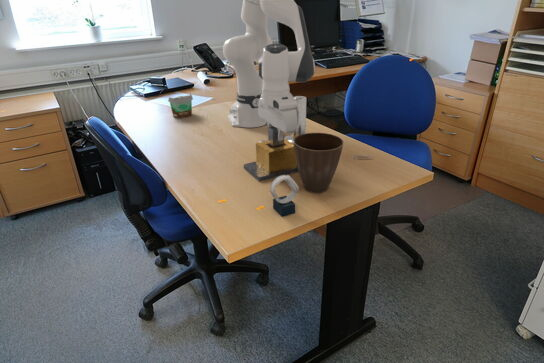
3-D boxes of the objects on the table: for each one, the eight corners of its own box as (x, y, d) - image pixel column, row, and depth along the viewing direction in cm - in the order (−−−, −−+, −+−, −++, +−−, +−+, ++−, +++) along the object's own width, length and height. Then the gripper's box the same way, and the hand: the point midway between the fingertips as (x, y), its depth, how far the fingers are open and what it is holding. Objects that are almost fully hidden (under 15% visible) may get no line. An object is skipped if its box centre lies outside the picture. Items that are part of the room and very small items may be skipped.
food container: (175, 120, 188) (172, 100, 183) (170, 117, 192) (167, 97, 188) (198, 115, 194) (196, 95, 190) (193, 112, 199) (191, 93, 194)
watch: (301, 211, 113) (301, 177, 108) (276, 218, 109) (275, 183, 104) (291, 202, 117) (292, 169, 112) (267, 209, 114) (266, 175, 109)
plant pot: (317, 173, 135) (319, 129, 127) (349, 189, 124) (353, 142, 117) (283, 185, 127) (283, 139, 120) (314, 204, 116) (316, 154, 109)
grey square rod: (268, 159, 137) (268, 127, 132) (279, 156, 139) (279, 124, 134) (273, 162, 135) (272, 129, 130) (284, 159, 137) (284, 127, 132)
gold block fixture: (238, 163, 143) (234, 98, 132) (295, 150, 153) (296, 89, 142) (259, 181, 130) (256, 111, 119) (320, 165, 140) (323, 99, 129)
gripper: (253, 91, 134) (254, 130, 140) (283, 106, 118) (283, 149, 124) (269, 89, 136) (269, 127, 143) (300, 103, 120) (299, 145, 127)
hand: (276, 137), depth 133 cm, fingers open, 4 cm apart
